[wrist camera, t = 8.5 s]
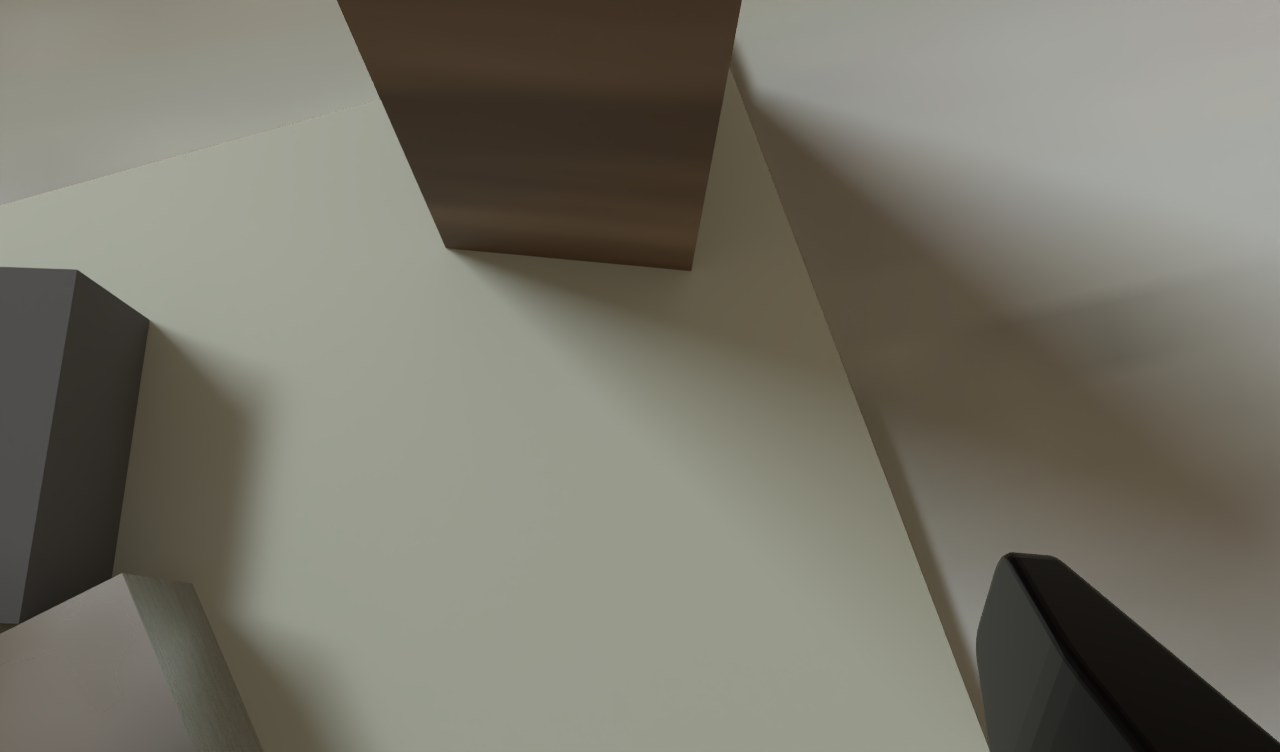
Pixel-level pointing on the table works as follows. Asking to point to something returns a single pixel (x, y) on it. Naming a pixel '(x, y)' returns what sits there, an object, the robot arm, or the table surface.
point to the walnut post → (555, 119)
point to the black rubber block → (62, 433)
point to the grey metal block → (121, 675)
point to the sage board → (501, 465)
